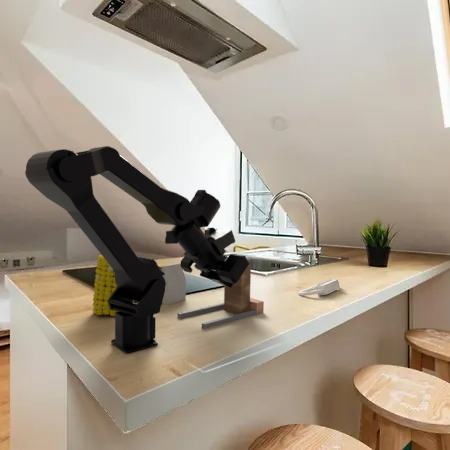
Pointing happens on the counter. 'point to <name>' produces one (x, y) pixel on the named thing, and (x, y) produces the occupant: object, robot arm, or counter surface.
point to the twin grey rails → (255, 309)
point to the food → (103, 287)
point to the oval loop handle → (321, 288)
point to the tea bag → (174, 284)
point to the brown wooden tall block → (239, 294)
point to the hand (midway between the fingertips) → (231, 286)
